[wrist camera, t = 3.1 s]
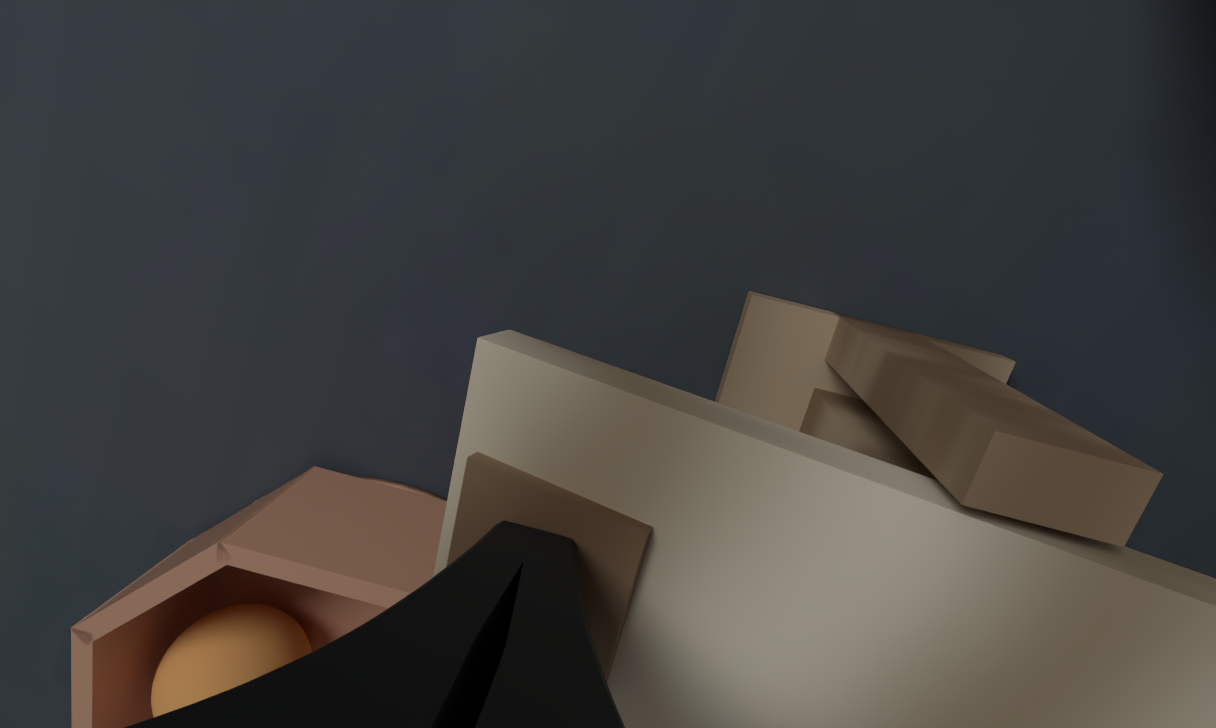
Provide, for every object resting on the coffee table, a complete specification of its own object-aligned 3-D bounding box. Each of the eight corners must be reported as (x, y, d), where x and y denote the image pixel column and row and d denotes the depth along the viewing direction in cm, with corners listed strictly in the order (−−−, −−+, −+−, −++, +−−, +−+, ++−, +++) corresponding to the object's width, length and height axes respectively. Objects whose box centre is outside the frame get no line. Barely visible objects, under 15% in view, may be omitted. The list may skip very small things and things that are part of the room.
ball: (292, 562, 18) (341, 643, 16) (281, 660, 19) (325, 750, 17) (140, 598, 16) (171, 701, 13) (136, 710, 17) (165, 823, 14)
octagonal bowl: (602, 535, 17) (583, 638, 13) (521, 835, 20) (486, 992, 16) (205, 430, 17) (69, 501, 13) (186, 743, 20) (71, 875, 16)
